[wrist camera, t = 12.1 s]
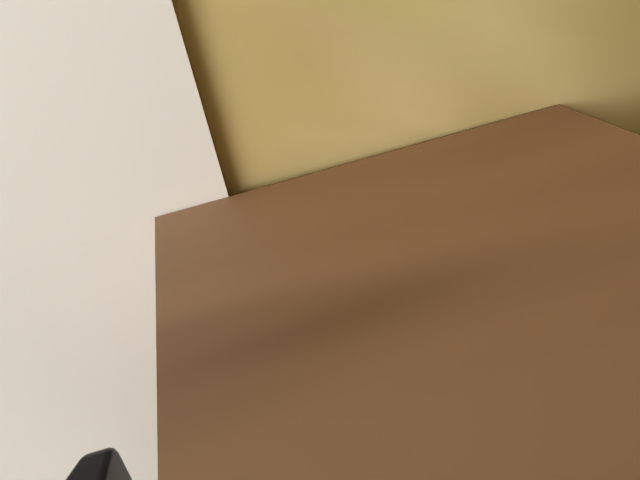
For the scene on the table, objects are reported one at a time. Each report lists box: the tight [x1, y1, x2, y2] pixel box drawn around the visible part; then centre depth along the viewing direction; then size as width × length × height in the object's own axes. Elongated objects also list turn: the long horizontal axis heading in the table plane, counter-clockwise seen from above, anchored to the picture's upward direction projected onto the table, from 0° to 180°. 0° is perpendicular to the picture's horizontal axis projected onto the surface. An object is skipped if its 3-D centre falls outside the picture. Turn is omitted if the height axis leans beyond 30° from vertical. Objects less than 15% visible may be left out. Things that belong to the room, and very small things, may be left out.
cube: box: [155, 105, 640, 480], centre depth 7 cm, size 6×6×6 cm
